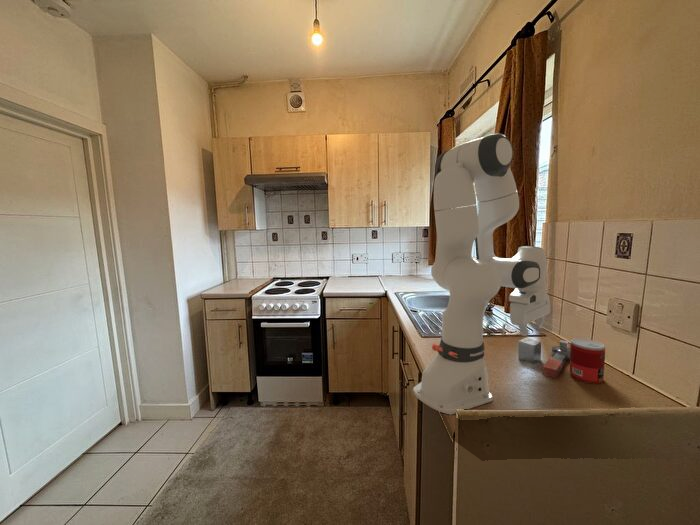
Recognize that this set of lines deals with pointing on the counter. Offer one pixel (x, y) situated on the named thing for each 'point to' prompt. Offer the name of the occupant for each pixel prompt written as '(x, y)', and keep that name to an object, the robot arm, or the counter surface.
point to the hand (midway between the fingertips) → (531, 331)
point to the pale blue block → (529, 350)
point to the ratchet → (557, 359)
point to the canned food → (587, 360)
